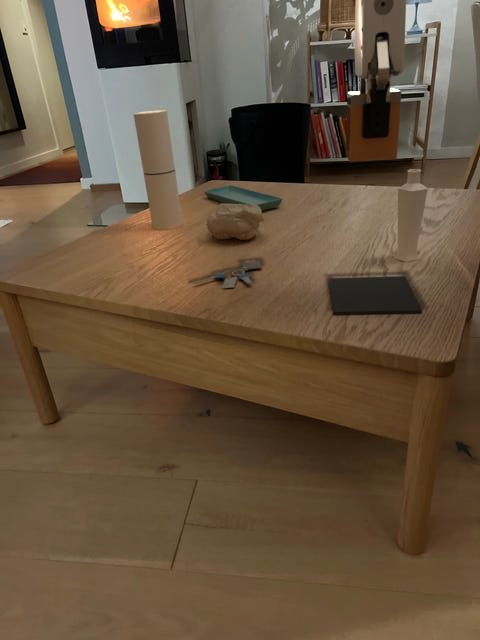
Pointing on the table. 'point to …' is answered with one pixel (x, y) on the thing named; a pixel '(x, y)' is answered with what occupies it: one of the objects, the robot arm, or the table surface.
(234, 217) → the fossil replica
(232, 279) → the toy rifle
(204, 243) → the table surface
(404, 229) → the perfume bottle
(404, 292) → the coaster
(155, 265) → the table surface
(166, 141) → the cylindrical container
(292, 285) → the table surface
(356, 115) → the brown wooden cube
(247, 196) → the shallow long dish
